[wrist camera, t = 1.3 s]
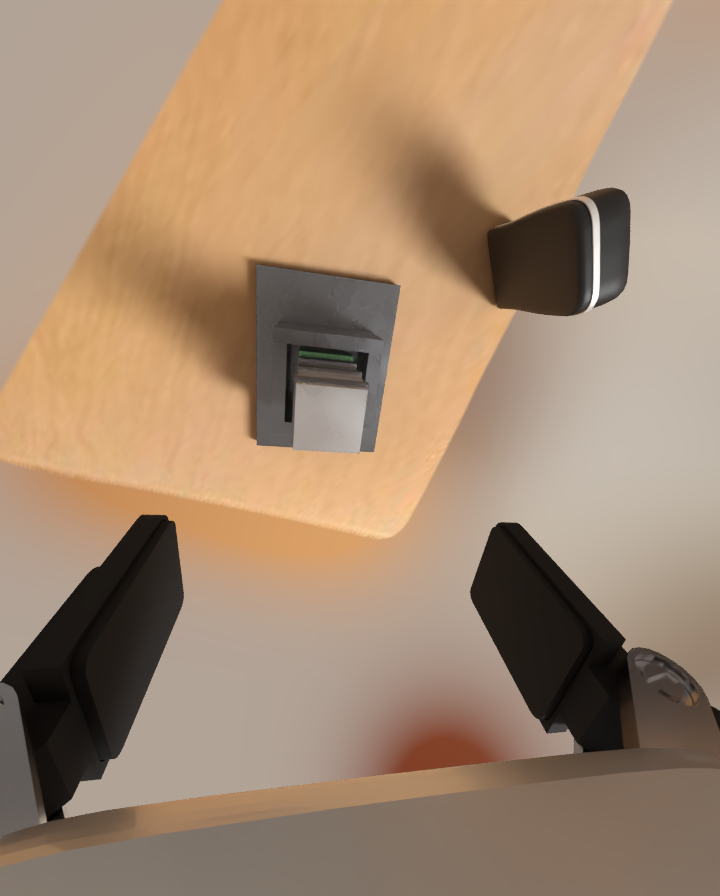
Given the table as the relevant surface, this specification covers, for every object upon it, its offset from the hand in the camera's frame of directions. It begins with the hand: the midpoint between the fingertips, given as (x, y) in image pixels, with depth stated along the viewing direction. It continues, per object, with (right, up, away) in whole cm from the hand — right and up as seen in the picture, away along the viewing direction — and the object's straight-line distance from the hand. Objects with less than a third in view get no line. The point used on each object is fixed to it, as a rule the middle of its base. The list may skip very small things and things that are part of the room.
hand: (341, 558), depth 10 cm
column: (-3, +10, +21) cm, 24 cm away
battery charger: (+14, +20, +20) cm, 32 cm away
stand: (-3, +11, +22) cm, 25 cm away
